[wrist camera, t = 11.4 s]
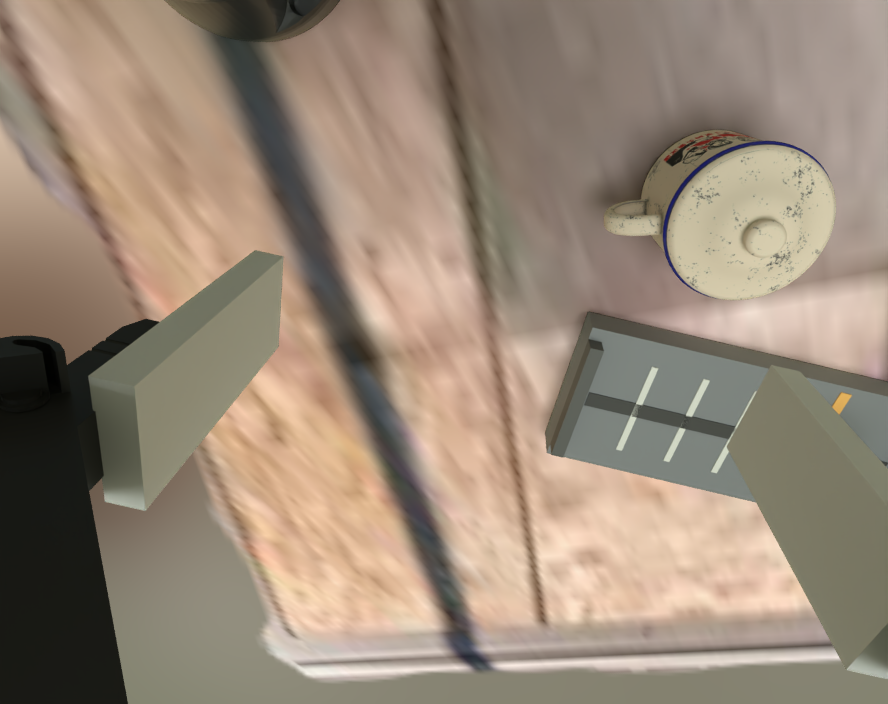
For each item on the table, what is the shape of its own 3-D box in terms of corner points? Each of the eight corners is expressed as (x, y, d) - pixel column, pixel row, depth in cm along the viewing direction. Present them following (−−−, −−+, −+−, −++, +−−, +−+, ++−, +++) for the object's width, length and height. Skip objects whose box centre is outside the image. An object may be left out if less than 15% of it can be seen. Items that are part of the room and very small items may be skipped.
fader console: (588, 311, 45) (595, 336, 41) (923, 390, 44) (963, 422, 40) (545, 432, 50) (547, 464, 46) (842, 502, 50) (870, 540, 46)
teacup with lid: (783, 118, 37) (886, 140, 27) (763, 252, 41) (845, 316, 31) (595, 136, 39) (623, 163, 29) (593, 263, 43) (617, 327, 33)
